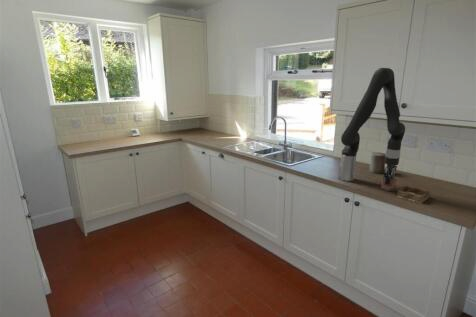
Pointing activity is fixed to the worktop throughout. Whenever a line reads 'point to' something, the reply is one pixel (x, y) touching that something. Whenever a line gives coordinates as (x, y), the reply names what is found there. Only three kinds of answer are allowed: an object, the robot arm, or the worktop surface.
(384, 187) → the lighter
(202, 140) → the worktop surface
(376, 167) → the pillar candle
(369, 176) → the worktop surface
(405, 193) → the walnut holder
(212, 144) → the worktop surface
